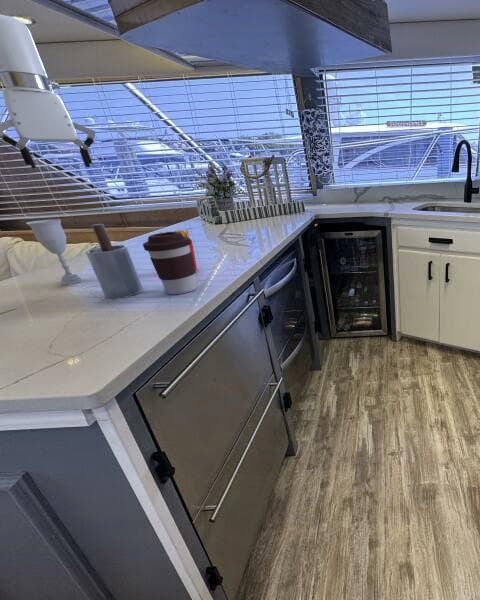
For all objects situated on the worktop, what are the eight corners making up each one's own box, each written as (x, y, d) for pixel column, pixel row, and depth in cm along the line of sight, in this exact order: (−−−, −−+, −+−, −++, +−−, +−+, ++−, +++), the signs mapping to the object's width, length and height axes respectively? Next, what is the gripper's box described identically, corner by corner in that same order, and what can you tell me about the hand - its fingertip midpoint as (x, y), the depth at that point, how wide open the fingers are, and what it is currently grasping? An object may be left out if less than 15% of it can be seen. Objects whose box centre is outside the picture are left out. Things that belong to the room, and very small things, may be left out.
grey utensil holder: (107, 301, 81) (87, 254, 76) (103, 293, 86) (84, 249, 81) (145, 291, 86) (129, 247, 81) (139, 285, 91) (123, 243, 86)
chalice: (50, 284, 95) (19, 223, 87) (77, 277, 101) (50, 219, 93) (67, 286, 93) (36, 223, 85) (93, 278, 98) (67, 219, 91)
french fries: (197, 267, 106) (185, 227, 101) (201, 269, 103) (189, 229, 98) (164, 274, 100) (150, 232, 95) (168, 277, 97) (153, 234, 92)
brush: (116, 294, 83) (87, 226, 76) (113, 291, 86) (85, 225, 79) (135, 290, 86) (108, 224, 79) (132, 286, 88) (106, 222, 81)
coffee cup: (175, 284, 90) (157, 231, 84) (210, 282, 91) (195, 229, 85) (151, 298, 81) (130, 239, 75) (191, 296, 81) (172, 237, 76)
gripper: (79, 93, 81) (105, 166, 87) (-29, 83, 69) (11, 168, 76) (80, 87, 76) (108, 166, 82) (-35, 76, 65) (8, 168, 71)
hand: (62, 167), depth 79 cm, fingers open, 9 cm apart
